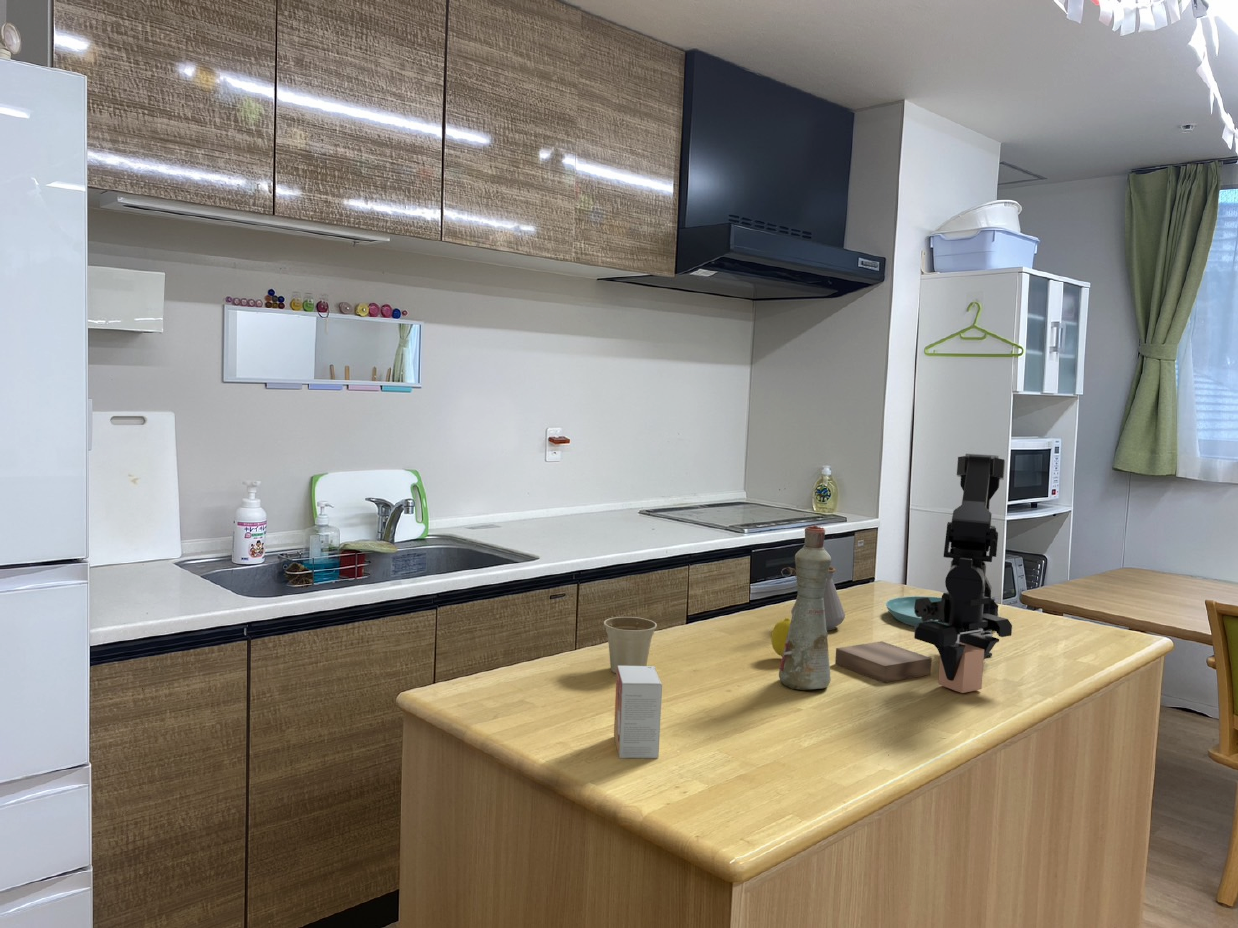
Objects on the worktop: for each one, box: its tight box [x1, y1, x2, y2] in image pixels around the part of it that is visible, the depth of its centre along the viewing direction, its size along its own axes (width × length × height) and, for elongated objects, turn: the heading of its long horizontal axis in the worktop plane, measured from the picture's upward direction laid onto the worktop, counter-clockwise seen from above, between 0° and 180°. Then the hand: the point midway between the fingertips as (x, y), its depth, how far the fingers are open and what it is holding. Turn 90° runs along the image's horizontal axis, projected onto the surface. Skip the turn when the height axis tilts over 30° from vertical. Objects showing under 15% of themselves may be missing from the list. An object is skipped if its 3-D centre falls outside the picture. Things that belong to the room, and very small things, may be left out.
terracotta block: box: [938, 642, 985, 694], centre depth 157 cm, size 5×5×7 cm
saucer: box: [885, 595, 1000, 628], centre depth 206 cm, size 24×24×3 cm
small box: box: [613, 665, 663, 759], centre depth 126 cm, size 8×6×10 cm
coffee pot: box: [781, 566, 846, 631], centre depth 193 cm, size 21×12×15 cm, turn 141°
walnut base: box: [834, 640, 933, 683], centre depth 167 cm, size 12×12×3 cm
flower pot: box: [603, 616, 658, 675], centre depth 160 cm, size 9×9×9 cm
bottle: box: [778, 524, 832, 691], centre depth 155 cm, size 9×9×28 cm
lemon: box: [771, 617, 791, 658], centre depth 171 cm, size 6×6×8 cm
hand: (960, 677), depth 157 cm, fingers closed on terracotta block, 5 cm apart
